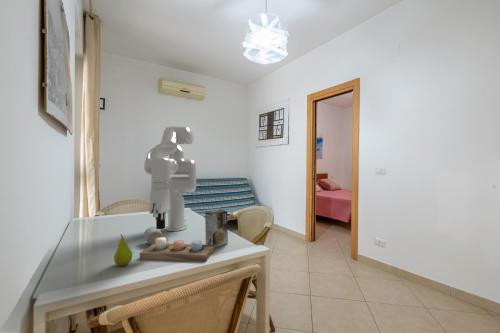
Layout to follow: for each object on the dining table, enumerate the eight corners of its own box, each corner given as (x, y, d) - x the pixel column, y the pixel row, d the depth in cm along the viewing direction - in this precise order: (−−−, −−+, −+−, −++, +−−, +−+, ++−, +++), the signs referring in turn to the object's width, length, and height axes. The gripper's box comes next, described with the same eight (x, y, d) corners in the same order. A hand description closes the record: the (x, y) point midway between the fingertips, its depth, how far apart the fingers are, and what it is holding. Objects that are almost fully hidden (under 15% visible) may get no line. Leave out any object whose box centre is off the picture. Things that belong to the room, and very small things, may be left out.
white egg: (158, 246, 101) (158, 237, 101) (168, 246, 101) (168, 237, 101) (153, 249, 97) (153, 240, 97) (163, 250, 97) (163, 240, 97)
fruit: (136, 262, 90) (136, 231, 90) (124, 269, 84) (124, 236, 84) (122, 260, 92) (122, 230, 92) (109, 267, 86) (109, 235, 86)
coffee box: (220, 240, 116) (220, 209, 116) (228, 243, 111) (228, 210, 112) (204, 245, 110) (204, 211, 110) (212, 248, 105) (212, 213, 105)
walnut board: (155, 248, 106) (155, 243, 106) (214, 250, 102) (214, 244, 102) (139, 258, 94) (139, 252, 94) (206, 261, 91) (206, 255, 91)
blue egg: (193, 249, 100) (193, 240, 100) (203, 250, 99) (203, 240, 99) (189, 253, 95) (189, 244, 95) (200, 254, 95) (200, 244, 95)
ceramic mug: (148, 247, 107) (148, 231, 107) (143, 243, 113) (143, 227, 113) (170, 243, 113) (170, 227, 114) (165, 239, 120) (165, 224, 120)
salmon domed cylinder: (176, 249, 100) (176, 240, 101) (185, 249, 100) (185, 240, 100) (171, 252, 96) (171, 243, 96) (181, 253, 96) (181, 243, 96)
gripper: (161, 185, 107) (161, 224, 107) (142, 187, 92) (142, 233, 92) (176, 185, 106) (176, 224, 106) (160, 187, 91) (160, 233, 91)
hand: (160, 228), depth 99 cm, fingers closed
